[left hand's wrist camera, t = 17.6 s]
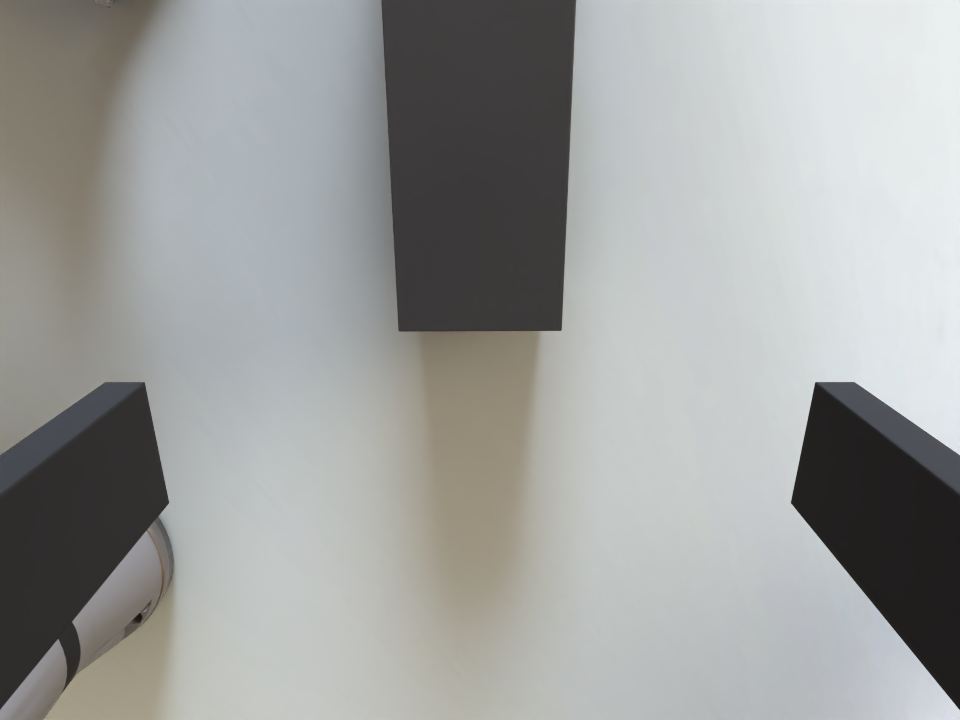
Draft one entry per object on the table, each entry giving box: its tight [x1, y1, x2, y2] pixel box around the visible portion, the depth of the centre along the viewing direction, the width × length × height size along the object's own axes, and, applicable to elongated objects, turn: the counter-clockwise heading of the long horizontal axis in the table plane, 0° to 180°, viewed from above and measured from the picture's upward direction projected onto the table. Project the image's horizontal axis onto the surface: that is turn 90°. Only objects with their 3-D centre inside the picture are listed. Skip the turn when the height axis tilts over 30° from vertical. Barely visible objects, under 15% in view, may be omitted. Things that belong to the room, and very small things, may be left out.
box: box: [382, 0, 576, 331], centre depth 30 cm, size 30×8×9 cm, turn 0°
